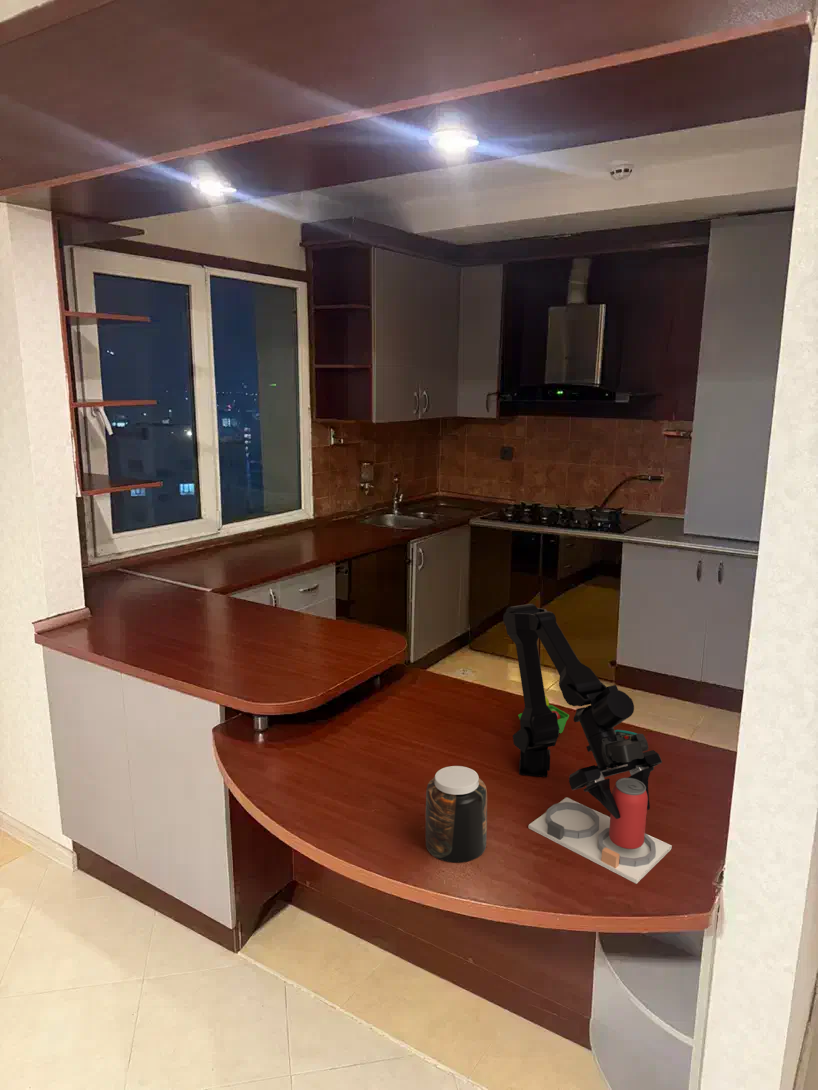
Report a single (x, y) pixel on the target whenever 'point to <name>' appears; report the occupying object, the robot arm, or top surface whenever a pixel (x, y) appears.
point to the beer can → (629, 814)
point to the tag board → (597, 839)
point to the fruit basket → (561, 715)
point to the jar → (456, 815)
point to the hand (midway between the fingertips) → (633, 814)
